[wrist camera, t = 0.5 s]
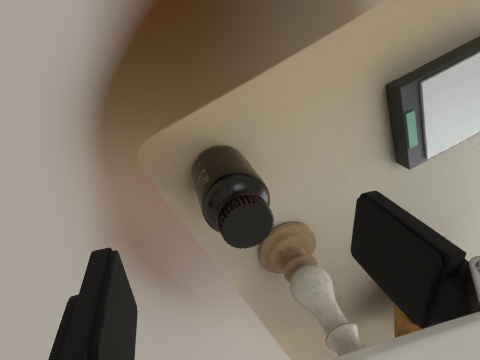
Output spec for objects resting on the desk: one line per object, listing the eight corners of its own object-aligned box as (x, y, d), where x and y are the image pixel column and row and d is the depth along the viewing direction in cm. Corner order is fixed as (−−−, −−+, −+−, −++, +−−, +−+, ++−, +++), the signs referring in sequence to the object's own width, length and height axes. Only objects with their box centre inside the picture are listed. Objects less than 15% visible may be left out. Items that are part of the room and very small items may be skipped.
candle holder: (321, 246, 46) (426, 379, 28) (275, 277, 46) (350, 428, 28) (298, 210, 41) (404, 341, 24) (247, 245, 42) (315, 399, 24)
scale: (385, 84, 36) (402, 88, 33) (483, 34, 36) (507, 34, 34) (396, 162, 42) (411, 171, 39) (480, 118, 42) (500, 124, 40)
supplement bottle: (214, 205, 37) (238, 271, 27) (179, 168, 34) (190, 228, 23) (257, 171, 37) (297, 226, 26) (225, 131, 33) (257, 176, 23)
